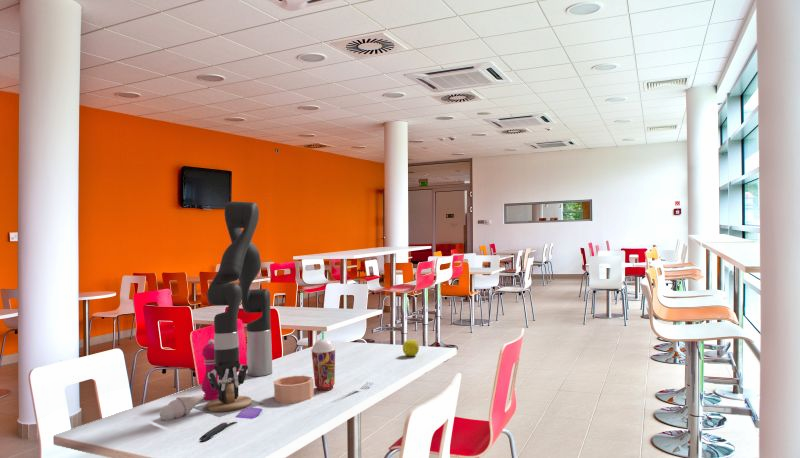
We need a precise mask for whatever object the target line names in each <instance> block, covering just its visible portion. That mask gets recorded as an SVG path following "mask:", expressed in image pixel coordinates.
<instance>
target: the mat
mask: <svg viewBox="0 0 800 458" xmlns="http://www.w3.org/2000/svg"><path fill="white" fill-rule="evenodd" d="M265 404H266V403H264V402H261V401H257V400H254V399H252V404H251V405H250V406H248V407H246V408H256V407H258V406H262V405H265ZM246 408H244V409H246ZM193 409H195V410H197V411H202V412H204V413H206V414H210V415H213V416H215V417H218V418H222V417H225V416H228V415H231V414H233V413H234V414H235V413H239V412H241V411H242V410H244V409H241V410H236V411H231V412H210V411H207V410H206V403H204V404H200V405H198V406H197V405H196V406H195V407H194V408H193Z"/></svg>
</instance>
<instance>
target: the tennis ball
mask: <svg viewBox="0 0 800 458" xmlns="http://www.w3.org/2000/svg"><path fill="white" fill-rule="evenodd" d="M419 350H420V347H419V343H418V342H417V341H416V340H414V339H407V340H406V341H404V342H403V344H402V352H403V353H404V355H405V356H407V357H414V356H416V355H417V354H418V353H419Z"/></svg>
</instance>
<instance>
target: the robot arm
mask: <svg viewBox="0 0 800 458" xmlns="http://www.w3.org/2000/svg"><path fill="white" fill-rule="evenodd" d="M259 216H260V209H259V206H258V204H257V203H256V202H250V201H229V202H227V203H226V204H225V207H224V221H225V224H226V229H227V232H228V234H229V235H228V236H229V238H230V242H231V243H230V244H229V245H228V247H227V248H226V249H225V250H224V252H223V254H222V256H221V259H220V265H219V267H218V271H217V273H216V274H215V276H214V277H213V279H212V281H211V282H210V284H209V286H208V288H207V291H206V298H207V302H208V303H209V304H210V305H211V306H216V307H217V306H220V307H221V306H228V307H227V310H226V311H224V312H219V313H217V314H216V315H215V316H214V318H213V326H214V328H213V329H214V331H213V332H214V337H213V340H214V354H215V368H214V370H213V371H211V372H207V374H206V375H207V377H208V380H209V382H210V384H211V387H212V389H215V390H218V397H219V401H220V402H222V403H224V402H226V397H225V390H224V389H225V384H226V382H228V379H229V380H230V381H229V382H234V394H235V399H237V397H238V396H240V395H239V386H241V385H243V384H244V382H245V378H246V375H247V374H248V376H249V377H262V376H267V375H270V374H272V373H273V354H272V353H273V352H272V351H273V350H272V349H273V348H272V331H271V330H272V327H271V326H272V325H271V293H270V290H269V289H267V288H258V289H257V288H255V289H250V287H251V285H252V283H253V281H254V280H255V279H256V278H257V276H258V275H259V273H260V271H261V268H262V261H261V255H260V251H259V249H258V248H257V246H256V245H255V243H253V242H252V239H253V236H254V233H255V231H256V229H257V225H258V223H259V220H260V219H259V218H260V217H259ZM235 281H238V283H239V284H238V283H236V282H235ZM240 304H241V306H242V310H243V311H244V313H245V314H255V313H256V314H258V313H259V314H261V316H260V317H258V318H257V319H254V320H252V321H250V322H248V323H246V343H247V344H246V346H247V349H246V364H241V362H240V340H239V332H238V317H239V316H238V314H239V309H240ZM216 373H217V375H218V383H217V380H216V378H215V377H216ZM222 379H223V380H222Z"/></svg>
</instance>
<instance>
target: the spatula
mask: <svg viewBox="0 0 800 458" xmlns="http://www.w3.org/2000/svg"><path fill="white" fill-rule="evenodd" d="M262 411H263V408H261V407H252V408H246V409H244V410H242V411H239V412H238V414H236V415H235V418H236V419H238V418H239V419H247V420H248V419H249V420H253V419H255V418H256V417H257V416H259V415H260V414H261V413H262ZM232 423H233V424H234V423H235V424H236V423H238V421H235V420H230V421H226V422H221V423H220V424H218V425H216V426H215V427H213V428H212V429H210V430H208V431H207V432H205V433H204V434H202V435H201V436H200V438H198V439H199V443H206V442H207V441H210V440H211V439H212V438H214V437H215V435H218V434H219V433H221V432H222V430H224V429H226V428H227V427H228V426H229V424H232Z"/></svg>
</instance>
